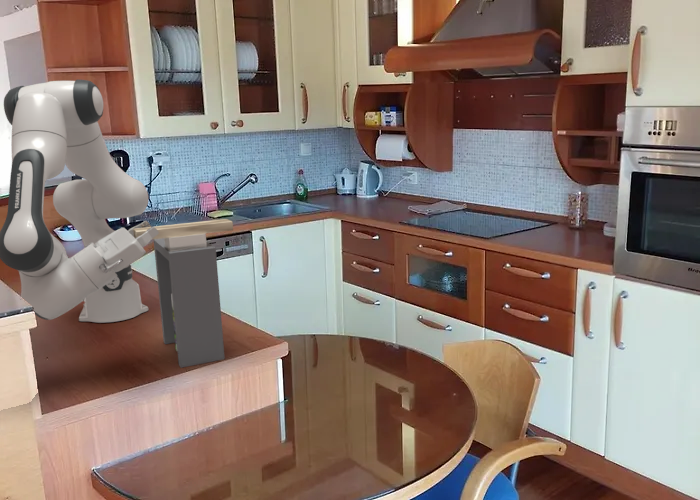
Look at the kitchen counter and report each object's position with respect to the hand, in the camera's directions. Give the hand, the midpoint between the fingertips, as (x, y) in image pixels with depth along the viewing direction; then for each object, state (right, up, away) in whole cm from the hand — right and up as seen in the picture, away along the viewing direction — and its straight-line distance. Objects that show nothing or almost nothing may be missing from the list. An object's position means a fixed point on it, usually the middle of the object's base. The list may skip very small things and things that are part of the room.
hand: (152, 226), depth 145 cm
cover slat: (+6, -2, +3) cm, 7 cm away
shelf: (+6, -29, +14) cm, 33 cm away
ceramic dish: (+6, -5, +4) cm, 9 cm away
